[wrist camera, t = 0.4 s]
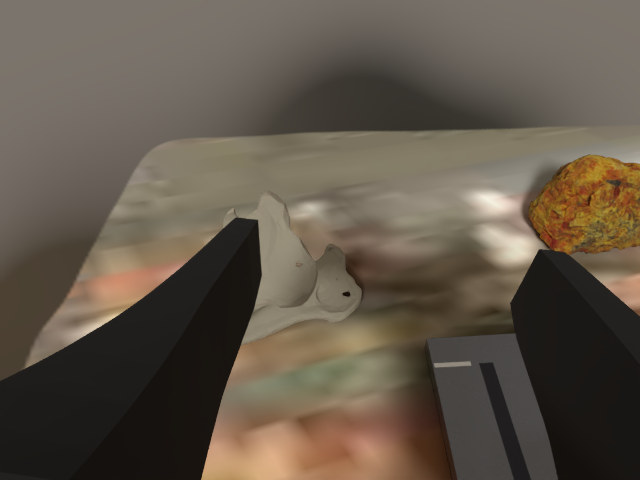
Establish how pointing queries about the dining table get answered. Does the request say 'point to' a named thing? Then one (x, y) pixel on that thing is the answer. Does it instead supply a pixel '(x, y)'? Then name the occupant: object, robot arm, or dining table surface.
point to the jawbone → (294, 276)
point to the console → (488, 409)
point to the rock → (590, 206)
